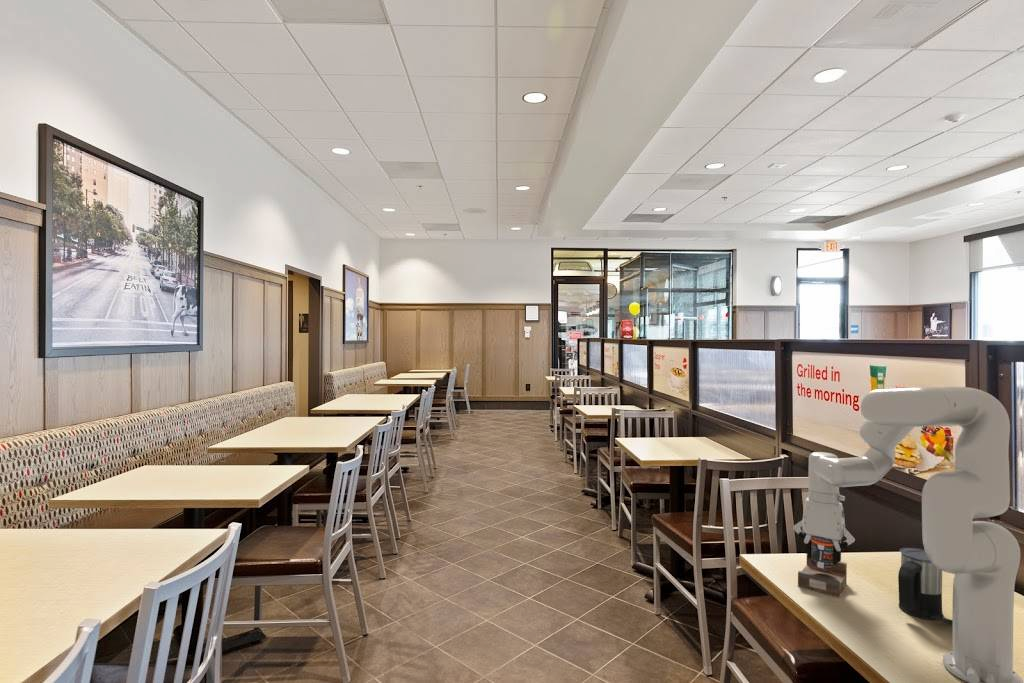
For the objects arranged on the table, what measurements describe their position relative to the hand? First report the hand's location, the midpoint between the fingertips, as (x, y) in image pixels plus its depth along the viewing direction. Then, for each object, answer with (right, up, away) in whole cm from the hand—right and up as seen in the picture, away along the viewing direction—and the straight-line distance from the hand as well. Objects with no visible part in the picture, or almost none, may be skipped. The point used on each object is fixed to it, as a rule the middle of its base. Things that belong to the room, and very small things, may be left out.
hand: (822, 559), depth 152 cm
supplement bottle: (0, -3, 0) cm, 3 cm away
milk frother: (+18, -8, -18) cm, 27 cm away
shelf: (0, -7, 0) cm, 7 cm away
